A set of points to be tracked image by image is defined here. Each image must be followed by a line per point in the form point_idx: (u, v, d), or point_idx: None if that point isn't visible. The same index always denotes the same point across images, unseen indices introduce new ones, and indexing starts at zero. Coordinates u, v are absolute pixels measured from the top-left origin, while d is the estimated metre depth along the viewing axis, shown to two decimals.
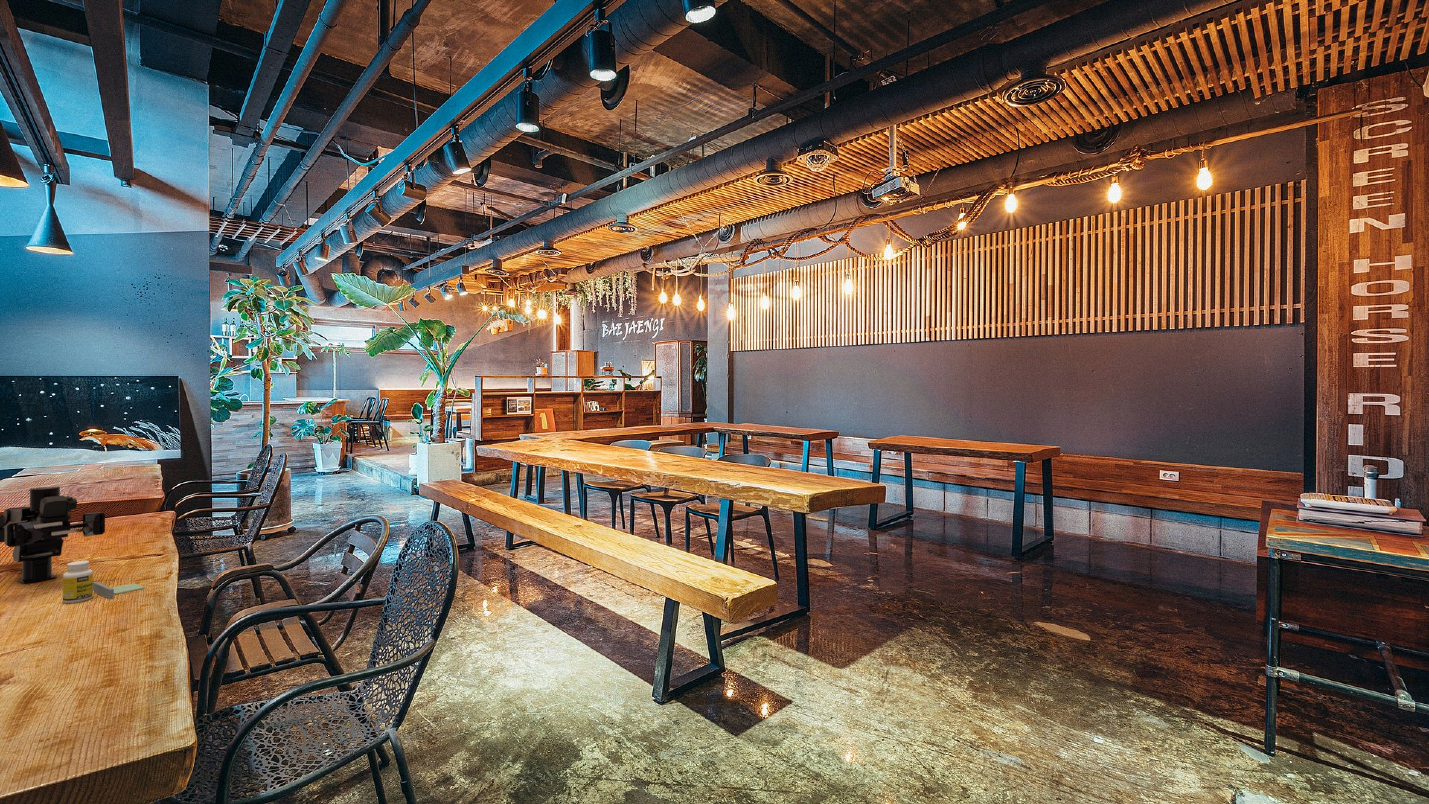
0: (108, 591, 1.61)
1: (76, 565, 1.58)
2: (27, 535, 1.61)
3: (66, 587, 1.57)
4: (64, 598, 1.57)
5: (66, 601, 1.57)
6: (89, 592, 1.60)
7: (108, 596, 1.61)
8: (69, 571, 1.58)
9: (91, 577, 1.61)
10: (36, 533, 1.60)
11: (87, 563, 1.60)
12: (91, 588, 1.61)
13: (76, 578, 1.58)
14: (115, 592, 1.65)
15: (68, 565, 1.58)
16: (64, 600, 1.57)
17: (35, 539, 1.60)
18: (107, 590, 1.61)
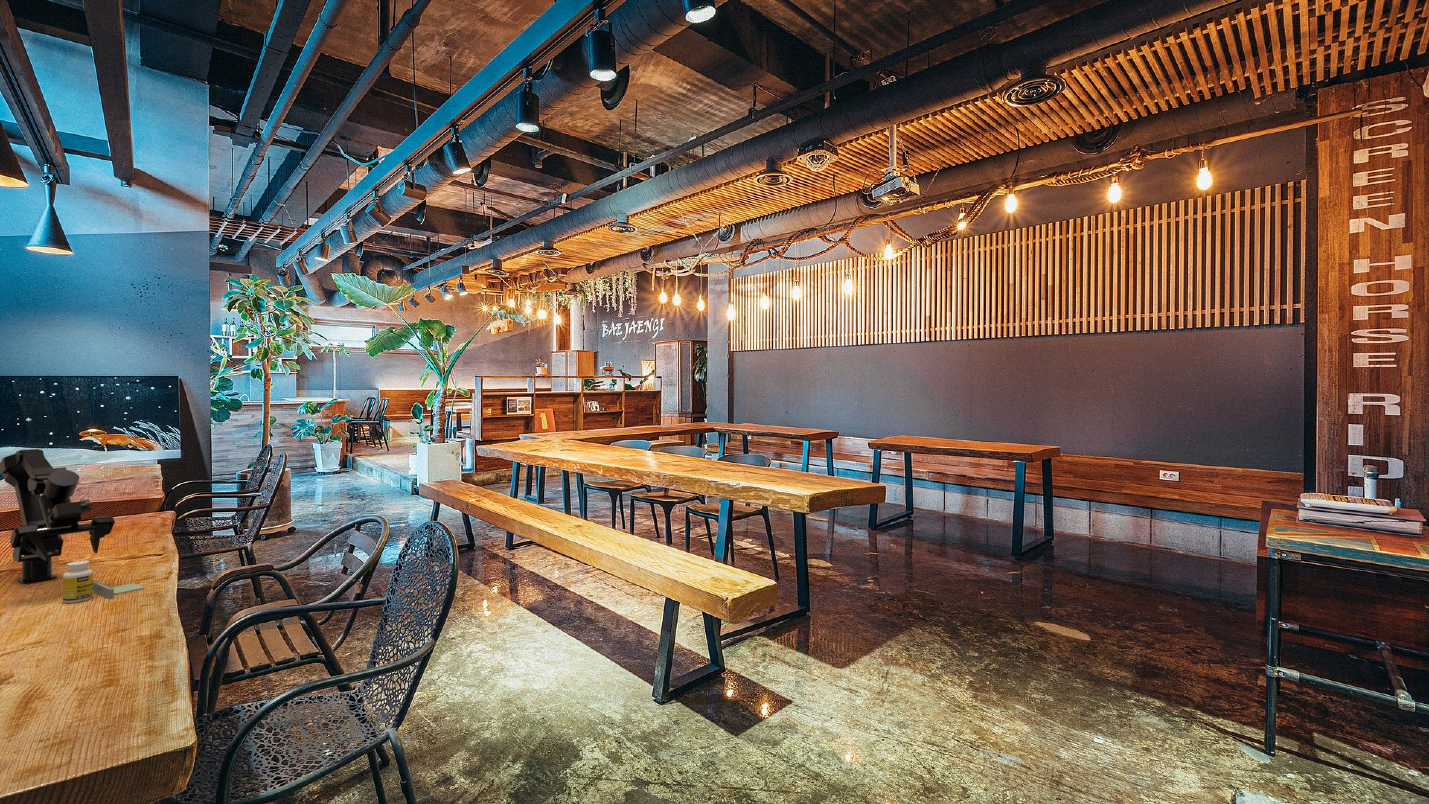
0: (108, 591, 1.61)
1: (76, 565, 1.58)
2: (33, 542, 1.59)
3: (66, 587, 1.57)
4: (64, 598, 1.57)
5: (66, 601, 1.57)
6: (89, 592, 1.60)
7: (108, 596, 1.61)
8: (69, 571, 1.58)
9: (91, 577, 1.61)
10: (42, 553, 1.58)
11: (87, 563, 1.60)
12: (91, 588, 1.61)
13: (76, 578, 1.58)
14: (115, 592, 1.65)
15: (68, 565, 1.58)
16: (64, 600, 1.57)
17: (39, 556, 1.58)
18: (107, 590, 1.61)
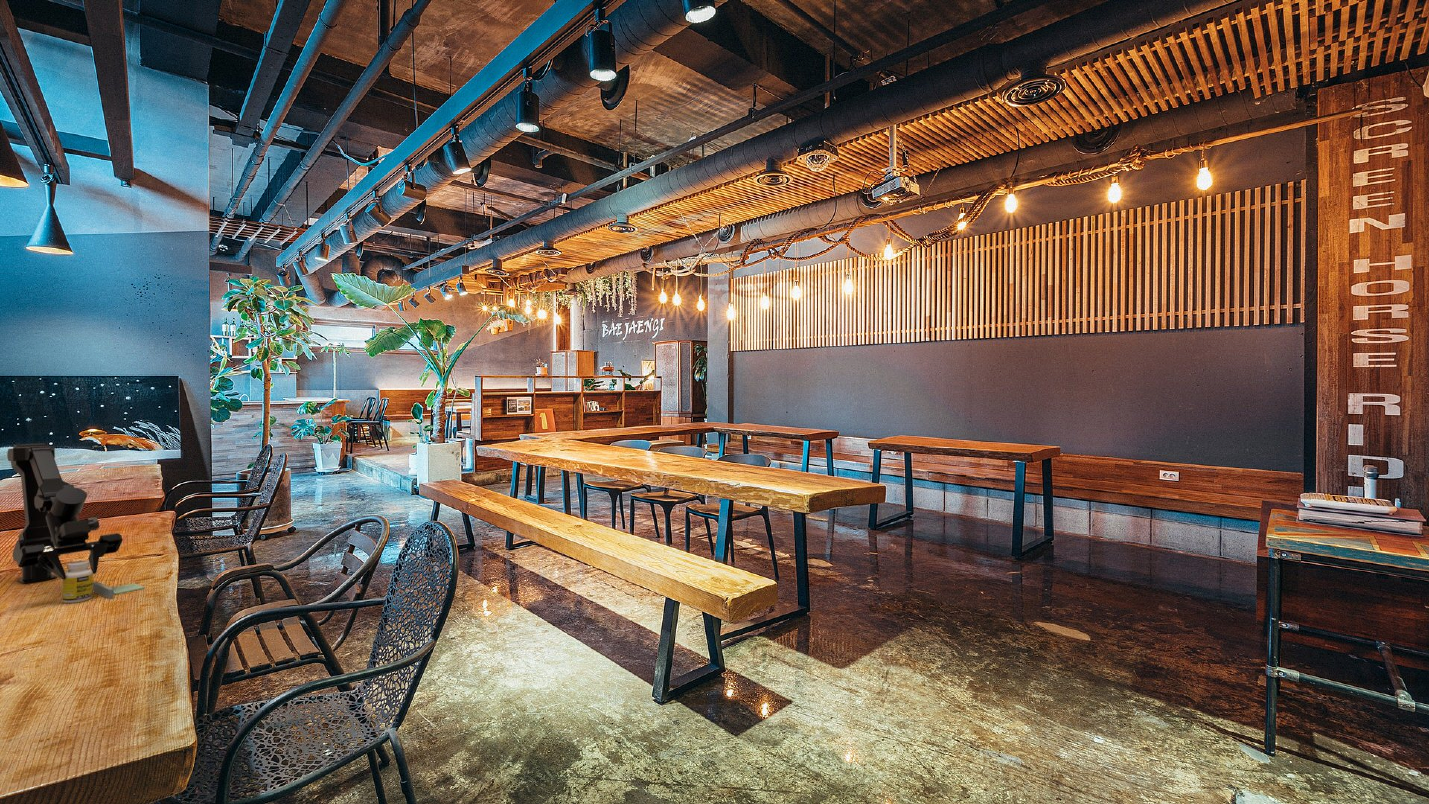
0: (108, 591, 1.61)
1: (76, 565, 1.58)
2: (50, 560, 1.58)
3: (66, 587, 1.57)
4: (64, 598, 1.57)
5: (66, 601, 1.57)
6: (90, 592, 1.60)
7: (108, 596, 1.61)
8: (69, 571, 1.58)
9: (91, 577, 1.61)
10: (59, 571, 1.56)
11: (87, 563, 1.60)
12: (91, 588, 1.61)
13: (76, 578, 1.58)
14: (115, 592, 1.65)
15: (68, 565, 1.58)
16: (64, 600, 1.57)
17: (56, 574, 1.57)
18: (107, 590, 1.61)
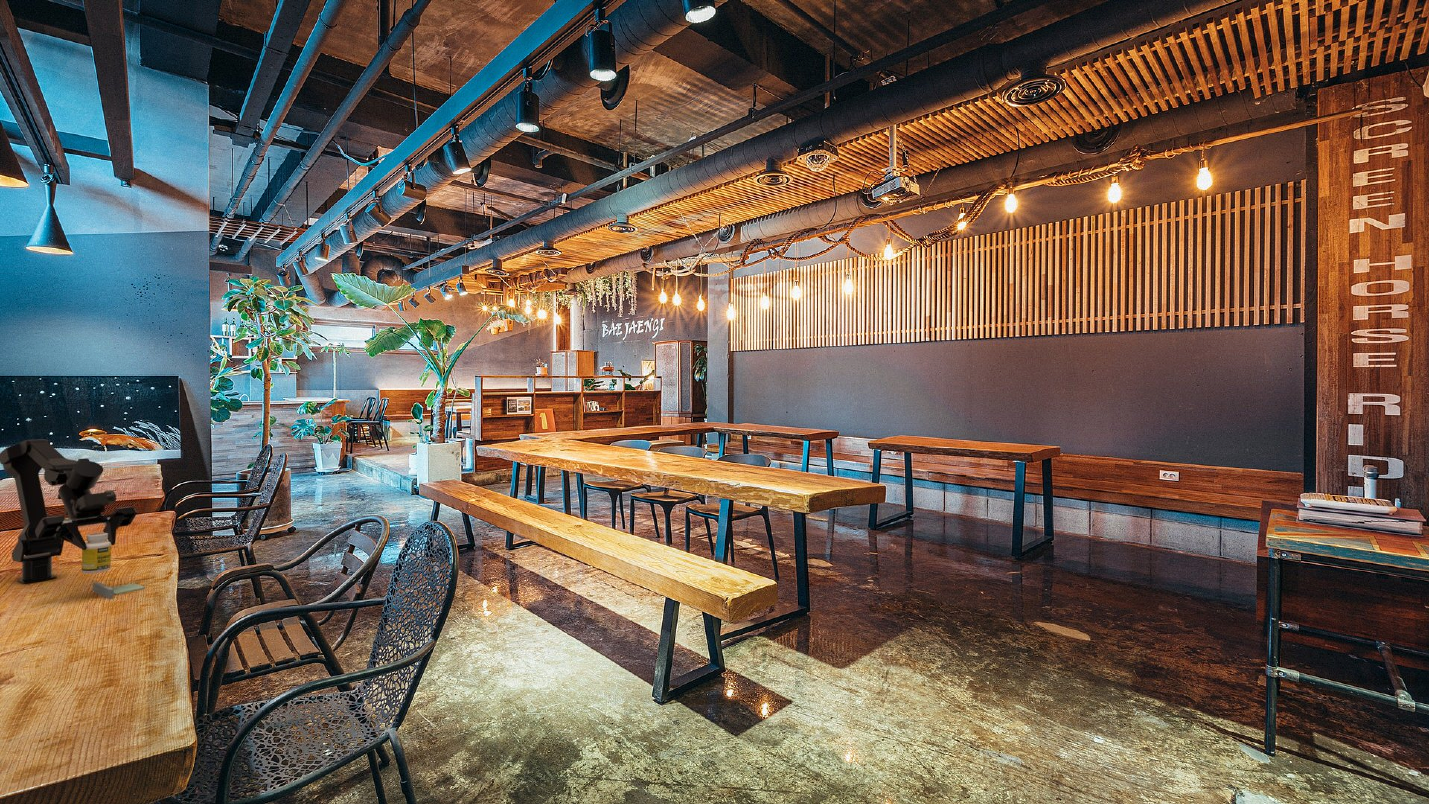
0: (108, 591, 1.61)
1: (96, 536, 1.62)
2: (69, 532, 1.61)
3: (86, 557, 1.60)
4: (84, 568, 1.61)
5: (86, 571, 1.61)
6: (109, 563, 1.64)
7: (108, 596, 1.61)
8: (89, 542, 1.61)
9: (110, 548, 1.64)
10: (80, 542, 1.60)
11: (106, 535, 1.64)
12: (110, 559, 1.65)
13: (97, 549, 1.61)
14: (115, 592, 1.65)
15: (88, 536, 1.61)
16: (84, 570, 1.61)
17: (76, 545, 1.60)
18: (107, 590, 1.61)
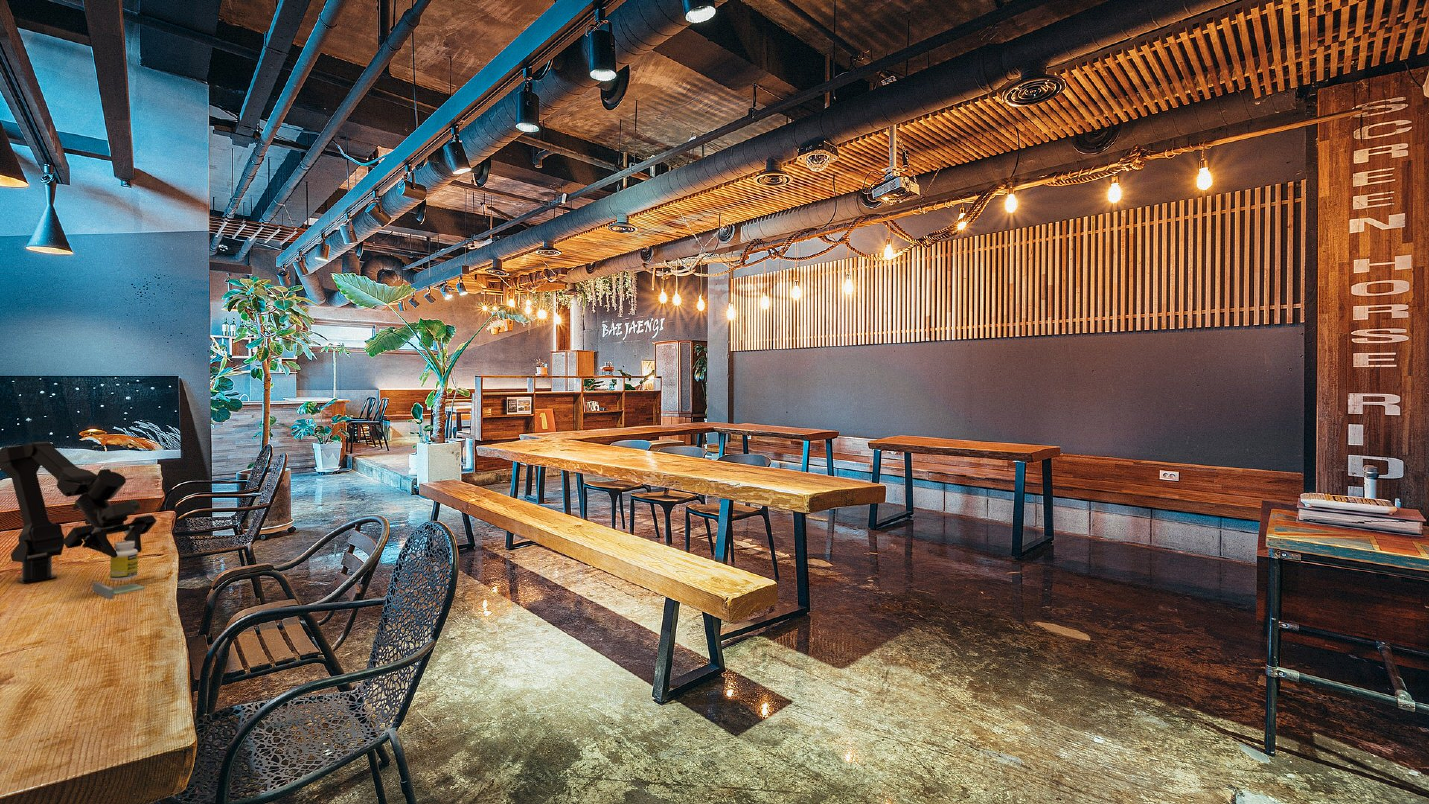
0: (108, 591, 1.61)
1: (126, 544, 1.67)
2: (96, 540, 1.65)
3: (116, 565, 1.66)
4: (114, 576, 1.66)
5: (117, 578, 1.66)
6: (136, 570, 1.70)
7: (108, 596, 1.61)
8: (118, 550, 1.67)
9: (137, 555, 1.70)
10: (110, 550, 1.65)
11: (134, 542, 1.69)
12: (137, 566, 1.70)
13: (127, 556, 1.67)
14: (115, 592, 1.65)
15: (117, 544, 1.67)
16: (114, 578, 1.66)
17: (106, 553, 1.65)
18: (107, 590, 1.61)
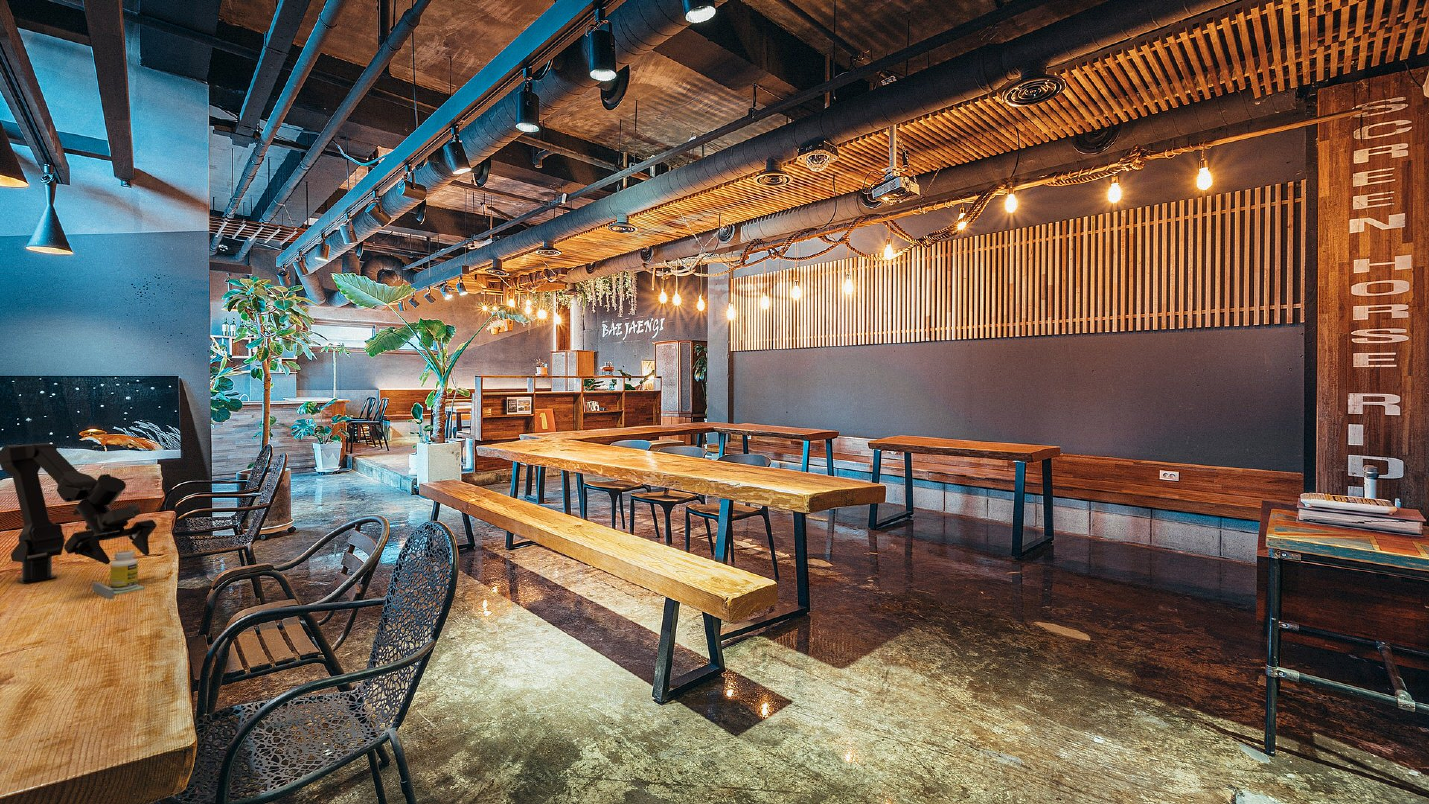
0: (108, 591, 1.61)
1: (126, 554, 1.67)
2: (89, 547, 1.63)
3: (116, 575, 1.66)
4: (114, 586, 1.66)
5: (117, 588, 1.66)
6: (137, 580, 1.70)
7: (108, 596, 1.61)
8: (118, 560, 1.67)
9: (137, 565, 1.70)
10: (103, 557, 1.63)
11: (134, 552, 1.70)
12: (137, 576, 1.70)
13: (127, 566, 1.67)
14: (115, 592, 1.65)
15: (117, 554, 1.67)
16: (114, 588, 1.66)
17: (98, 560, 1.63)
18: (107, 590, 1.61)
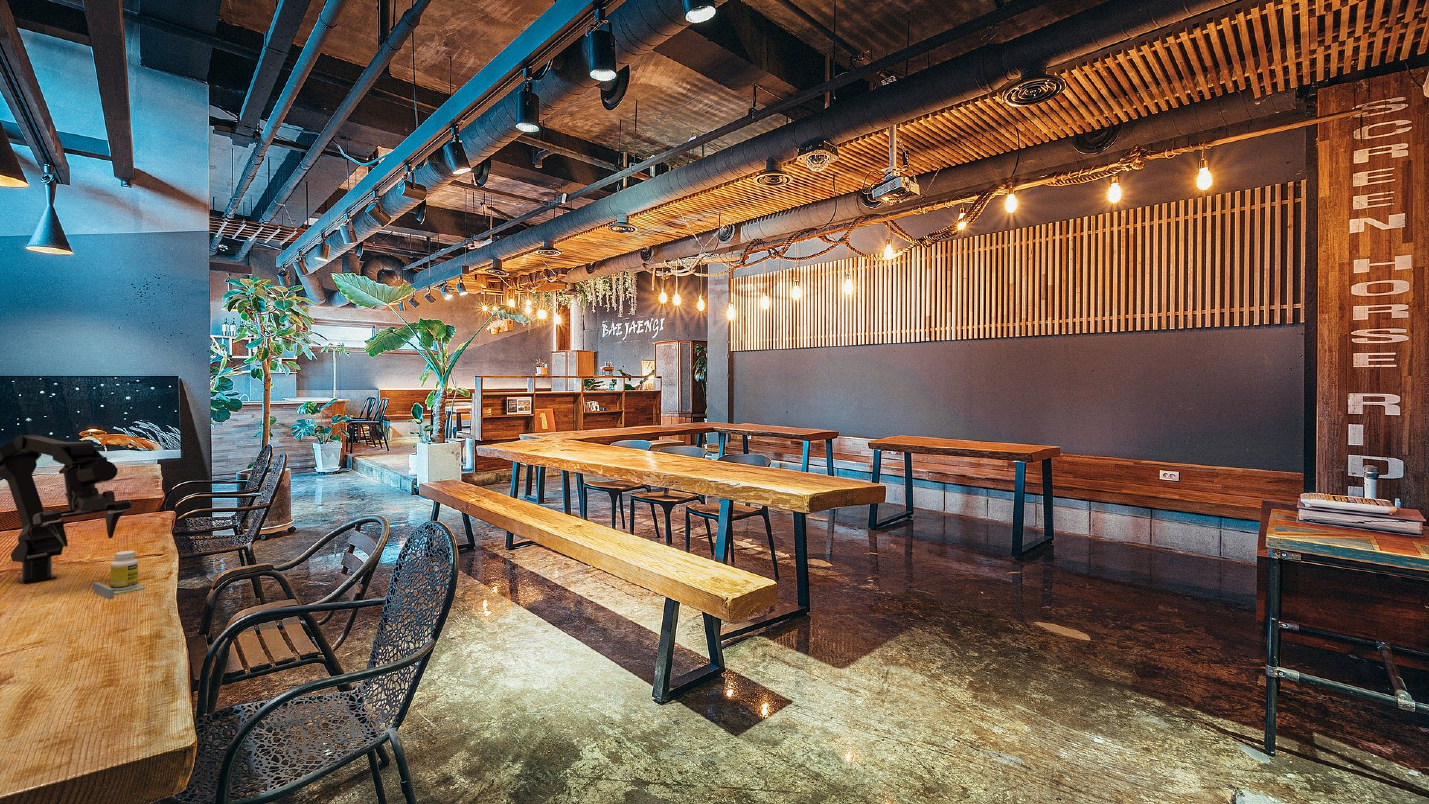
0: (108, 591, 1.61)
1: (126, 554, 1.67)
2: None
3: (117, 575, 1.66)
4: (114, 586, 1.66)
5: (117, 588, 1.66)
6: (137, 580, 1.70)
7: (108, 596, 1.61)
8: (118, 560, 1.67)
9: (137, 565, 1.70)
10: (62, 540, 1.66)
11: (134, 552, 1.70)
12: (137, 576, 1.70)
13: (127, 566, 1.67)
14: (115, 592, 1.65)
15: (117, 555, 1.67)
16: (114, 588, 1.66)
17: (59, 539, 1.67)
18: (107, 590, 1.61)
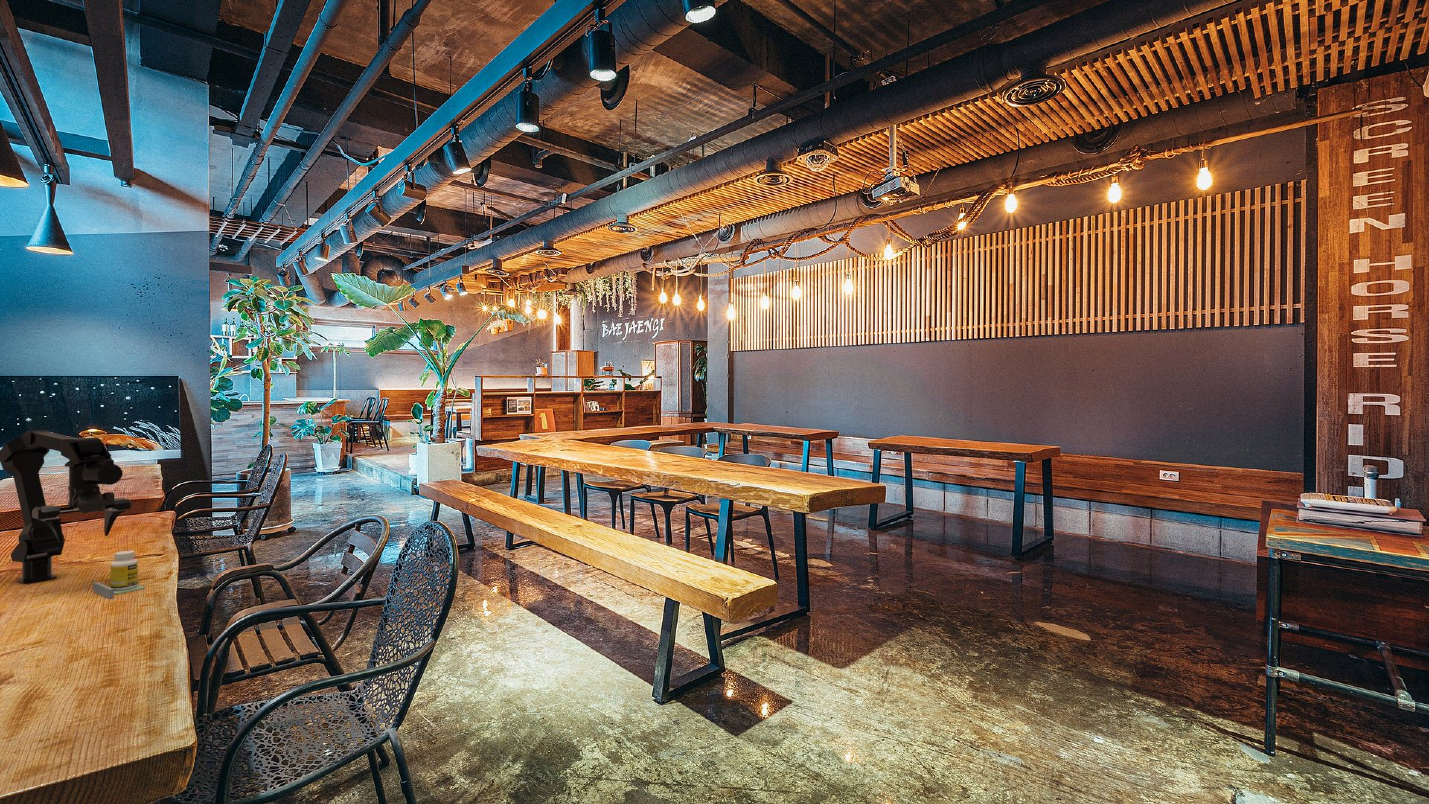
0: (108, 591, 1.61)
1: (126, 554, 1.67)
2: None
3: (117, 575, 1.66)
4: (114, 586, 1.66)
5: (117, 588, 1.66)
6: (137, 580, 1.70)
7: (108, 596, 1.61)
8: (118, 560, 1.67)
9: (137, 565, 1.70)
10: (57, 536, 1.67)
11: (134, 552, 1.70)
12: (137, 576, 1.70)
13: (127, 566, 1.67)
14: (115, 592, 1.65)
15: (117, 555, 1.67)
16: (114, 588, 1.66)
17: (54, 534, 1.67)
18: (107, 590, 1.61)
